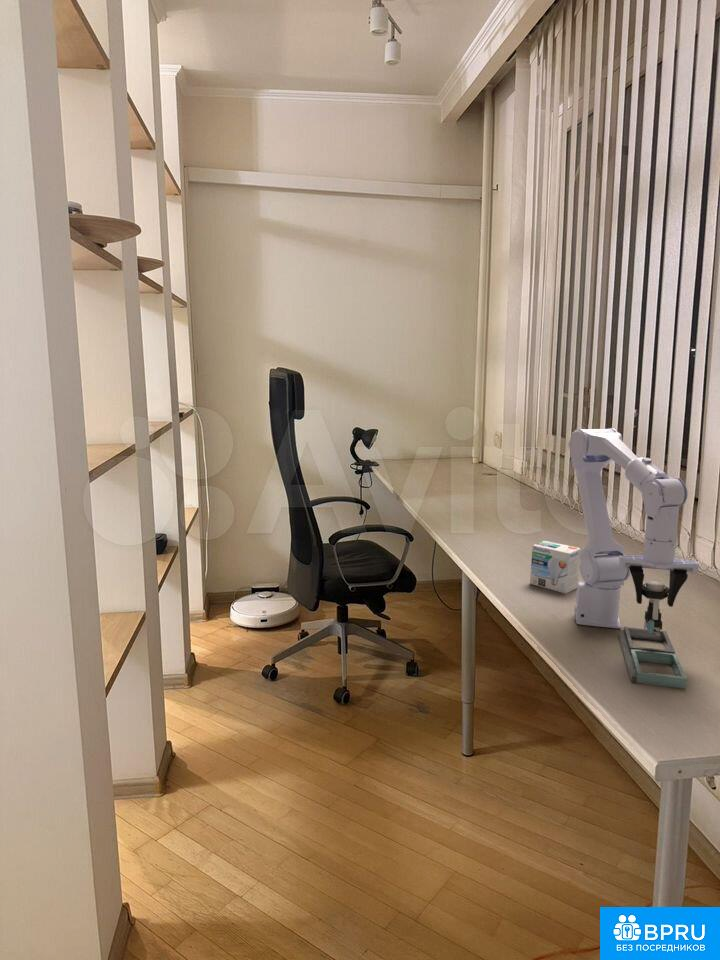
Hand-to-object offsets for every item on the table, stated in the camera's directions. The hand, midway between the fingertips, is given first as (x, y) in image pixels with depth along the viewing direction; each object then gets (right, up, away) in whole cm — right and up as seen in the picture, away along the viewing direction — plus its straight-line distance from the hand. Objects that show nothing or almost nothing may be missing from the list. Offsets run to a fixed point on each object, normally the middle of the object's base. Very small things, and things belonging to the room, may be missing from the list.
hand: (654, 603), depth 141 cm
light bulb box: (-9, -3, +41) cm, 42 cm away
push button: (0, -6, +1) cm, 6 cm away
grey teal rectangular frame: (-1, -11, -2) cm, 11 cm away
